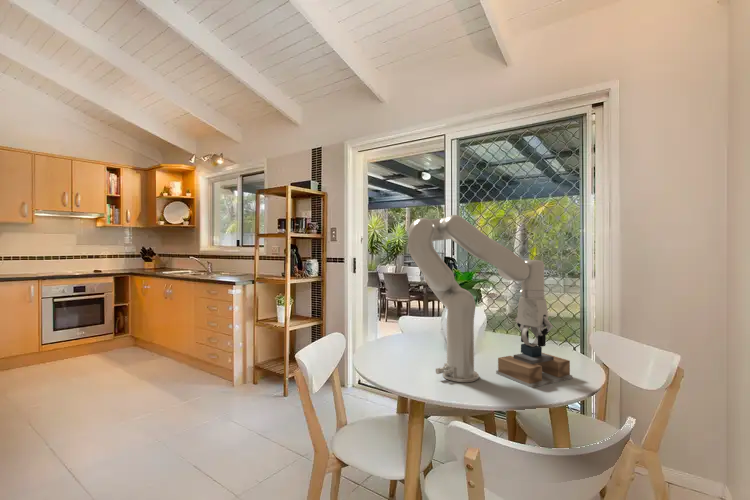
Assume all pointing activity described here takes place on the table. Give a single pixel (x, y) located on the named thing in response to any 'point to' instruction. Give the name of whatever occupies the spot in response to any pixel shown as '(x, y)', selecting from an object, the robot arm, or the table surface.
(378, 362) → the table surface
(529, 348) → the watch
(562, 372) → the watch stand
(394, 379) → the table surface
